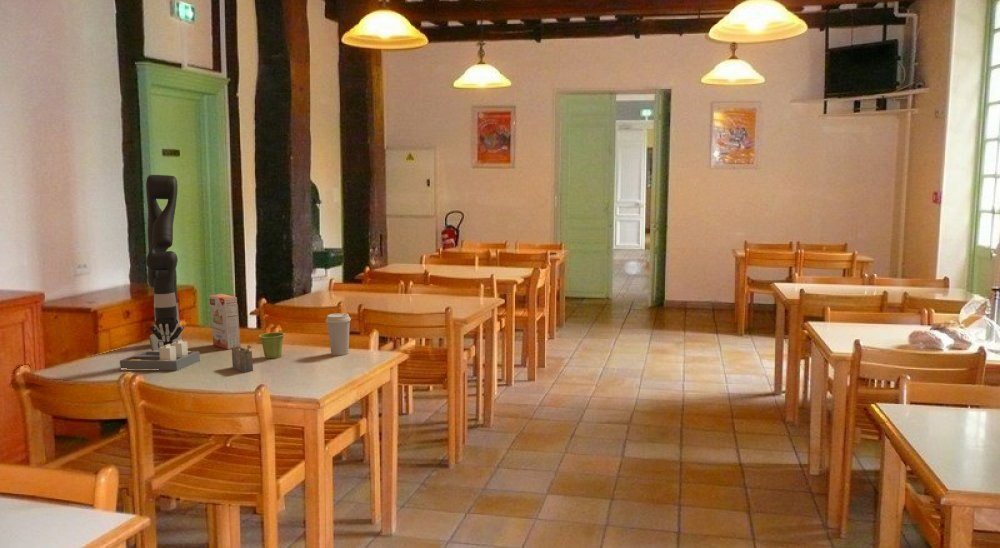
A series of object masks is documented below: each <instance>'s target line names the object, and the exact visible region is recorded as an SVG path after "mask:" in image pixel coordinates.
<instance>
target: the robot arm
mask: <svg viewBox="0 0 1000 548" xmlns="http://www.w3.org/2000/svg"><path fill="white" fill-rule="evenodd" d="M145 187H146V189H145V191H146V203H147V245H148V253H147V256H146V261H145V262H146V267H147V283H148V284H149V287H150V288H153V294H154V296H153V308H154V311H153V312H154V321H155V322H154V325H152V326H150V327H149V330H150V331H151V332H152V334H154V335H155V336H156V337H157V338H158V340H162V341H163V342H164V345H167V344H171V343H173V340H174V339H176V341H178V340H180V339H182V332H183V330H184V329H185V326H184V325H181V320H180V315H179V314H180V313H179V302H178V300H179V298H178V287H177V286H178V284H177V283H178V282H177V279H178V278H177V266H178V261H179V259H178V256H177V254H176V252H174V251H172V250H169V248H171V247H172V246H173V240H174V220H175V214H176V207H177V201H178V200H177V199H178V191H179V190H178V189H179V188H178V187H179V186H178V178H176V176H174V175H170V174H169V175H167V174H148V176H147V178H146V183H145ZM157 200H167V203H166V205H165V207H164V209H163V210H162V208H160V205H159V203H158V201H157ZM167 250H168V251H167ZM171 346H172V345H171Z"/></svg>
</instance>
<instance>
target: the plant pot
mask: <svg viewBox="0 0 1000 548" xmlns="http://www.w3.org/2000/svg"><path fill="white" fill-rule="evenodd" d="M284 336H285V332H276V331H275V332H267V333H261V334H259V335H258V337H259V339H260V342H261V346H262V349H263V350H262V351H263V355H264V358H265V359H274V360H275V359H279V358H280V357H282V356H283V355H282V353H283V341H284Z"/></svg>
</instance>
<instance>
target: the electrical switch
mask: <svg viewBox="0 0 1000 548" xmlns="http://www.w3.org/2000/svg"><path fill="white" fill-rule="evenodd" d="M174 342H176V339H174V340H173V343H174ZM149 343H150V344H149V345H150V348H151V351H159V348H161V347H163V346H164V342H163V341H162V340H158V338H157V337H156V336H155V335H154V333H152V334H150V335H149Z"/></svg>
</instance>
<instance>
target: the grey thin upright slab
mask: <svg viewBox="0 0 1000 548" xmlns="http://www.w3.org/2000/svg"><path fill="white" fill-rule="evenodd" d="M252 347H253V346H252V345H251V344H248V345H247V347H246V348H243V347H240V348H239V347H232V349H231V357H232V358H231V360H232V368H234V369H236V370H238V369H239V371H241V372H243V371H244V373H250V372H251V371H252V372H253V371H254V366H253V363H254V362H253V354H252V353H253V352H252V350H251V351H250V349H252Z"/></svg>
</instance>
